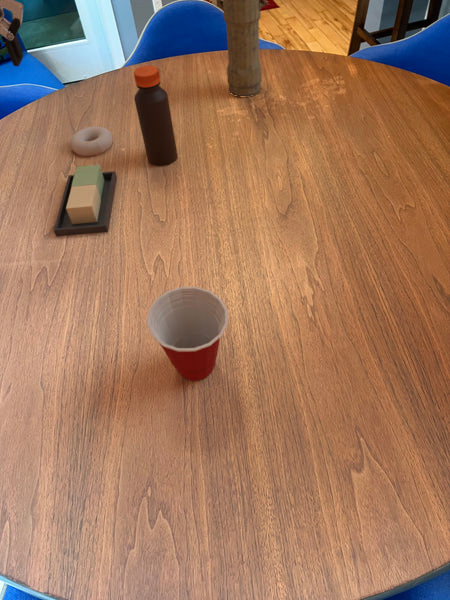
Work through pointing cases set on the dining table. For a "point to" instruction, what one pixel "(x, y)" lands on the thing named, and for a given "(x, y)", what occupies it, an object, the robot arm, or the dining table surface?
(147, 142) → the bottle
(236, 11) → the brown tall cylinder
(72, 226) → the tray
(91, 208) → the tan block
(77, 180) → the sage block
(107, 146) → the donut
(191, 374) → the plastic cup
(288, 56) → the dining table surface
